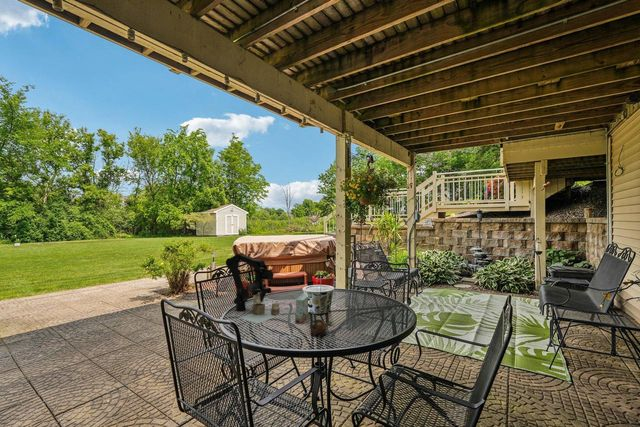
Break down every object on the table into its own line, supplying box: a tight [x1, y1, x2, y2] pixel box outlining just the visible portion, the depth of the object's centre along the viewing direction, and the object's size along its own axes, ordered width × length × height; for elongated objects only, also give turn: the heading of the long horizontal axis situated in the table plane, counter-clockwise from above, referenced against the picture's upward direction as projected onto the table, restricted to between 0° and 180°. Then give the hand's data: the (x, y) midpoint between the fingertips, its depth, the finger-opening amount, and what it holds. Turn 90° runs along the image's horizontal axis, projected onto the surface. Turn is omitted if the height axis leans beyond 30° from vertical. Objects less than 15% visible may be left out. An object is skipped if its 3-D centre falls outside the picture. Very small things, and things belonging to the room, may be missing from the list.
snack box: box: [294, 292, 310, 324], centre depth 194 cm, size 21×6×15 cm, turn 168°
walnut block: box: [251, 303, 266, 315], centre depth 200 cm, size 6×6×6 cm
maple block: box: [252, 293, 265, 304], centre depth 200 cm, size 5×5×5 cm
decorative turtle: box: [309, 318, 328, 337], centre depth 168 cm, size 10×15×8 cm, turn 17°
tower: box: [270, 302, 280, 317], centre depth 198 cm, size 4×4×8 cm
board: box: [238, 309, 282, 324], centre depth 195 cm, size 18×22×1 cm
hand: (258, 301), depth 200 cm, fingers closed on maple block, 5 cm apart
